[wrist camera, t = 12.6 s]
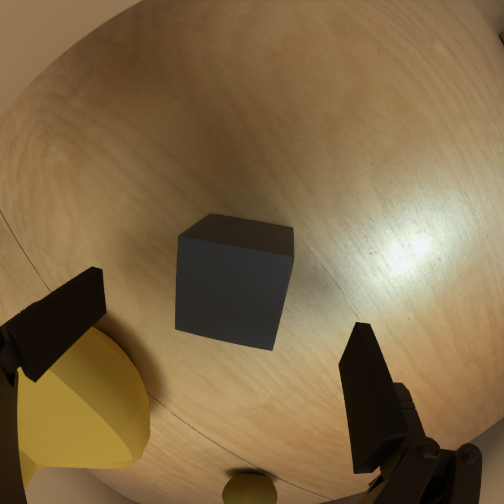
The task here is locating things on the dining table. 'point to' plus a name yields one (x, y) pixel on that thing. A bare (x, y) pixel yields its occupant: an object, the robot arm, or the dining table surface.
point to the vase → (83, 410)
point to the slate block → (233, 279)
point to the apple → (249, 490)
